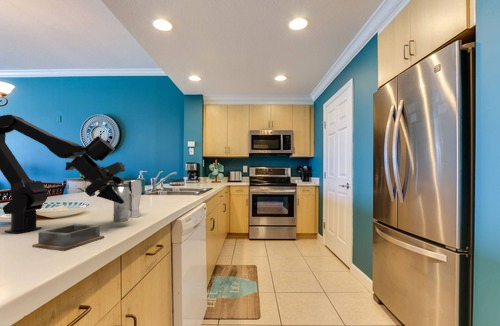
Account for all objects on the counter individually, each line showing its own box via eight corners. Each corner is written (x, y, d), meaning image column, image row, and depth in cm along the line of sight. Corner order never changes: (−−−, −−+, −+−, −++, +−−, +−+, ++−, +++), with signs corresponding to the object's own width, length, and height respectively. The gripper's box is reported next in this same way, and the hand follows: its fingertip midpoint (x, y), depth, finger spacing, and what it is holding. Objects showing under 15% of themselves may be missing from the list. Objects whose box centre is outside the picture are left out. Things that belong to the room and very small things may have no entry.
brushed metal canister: (110, 222, 79) (110, 184, 79) (120, 219, 83) (121, 183, 84) (120, 223, 78) (121, 184, 78) (131, 220, 82) (131, 183, 83)
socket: (32, 247, 59) (32, 232, 59) (75, 235, 70) (75, 223, 70) (64, 251, 56) (64, 236, 56) (104, 238, 67) (104, 225, 67)
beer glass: (133, 218, 93) (134, 181, 94) (118, 217, 95) (119, 181, 95) (144, 215, 100) (145, 180, 101) (130, 214, 102) (131, 180, 102)
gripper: (97, 152, 71) (135, 187, 73) (119, 155, 90) (149, 183, 92) (67, 177, 70) (107, 213, 71) (96, 176, 88) (127, 204, 90)
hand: (125, 202), depth 81 cm, fingers closed on brushed metal canister, 4 cm apart
